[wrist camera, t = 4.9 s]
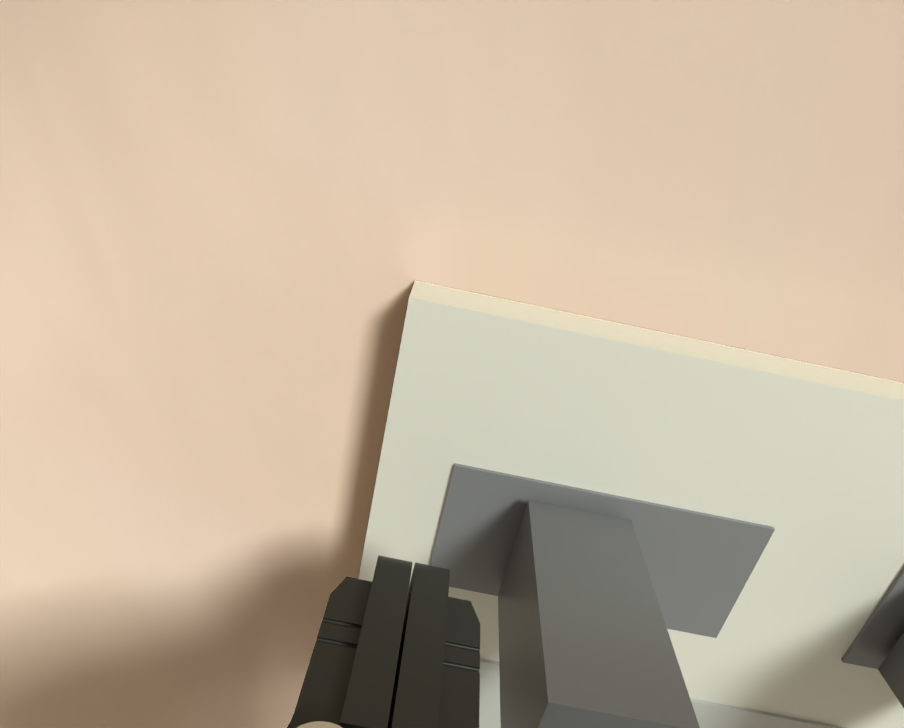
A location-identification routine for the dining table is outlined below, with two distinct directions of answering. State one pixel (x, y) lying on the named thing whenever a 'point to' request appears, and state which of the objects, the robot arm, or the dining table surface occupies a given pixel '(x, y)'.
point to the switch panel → (660, 494)
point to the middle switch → (895, 669)
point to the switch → (584, 629)
